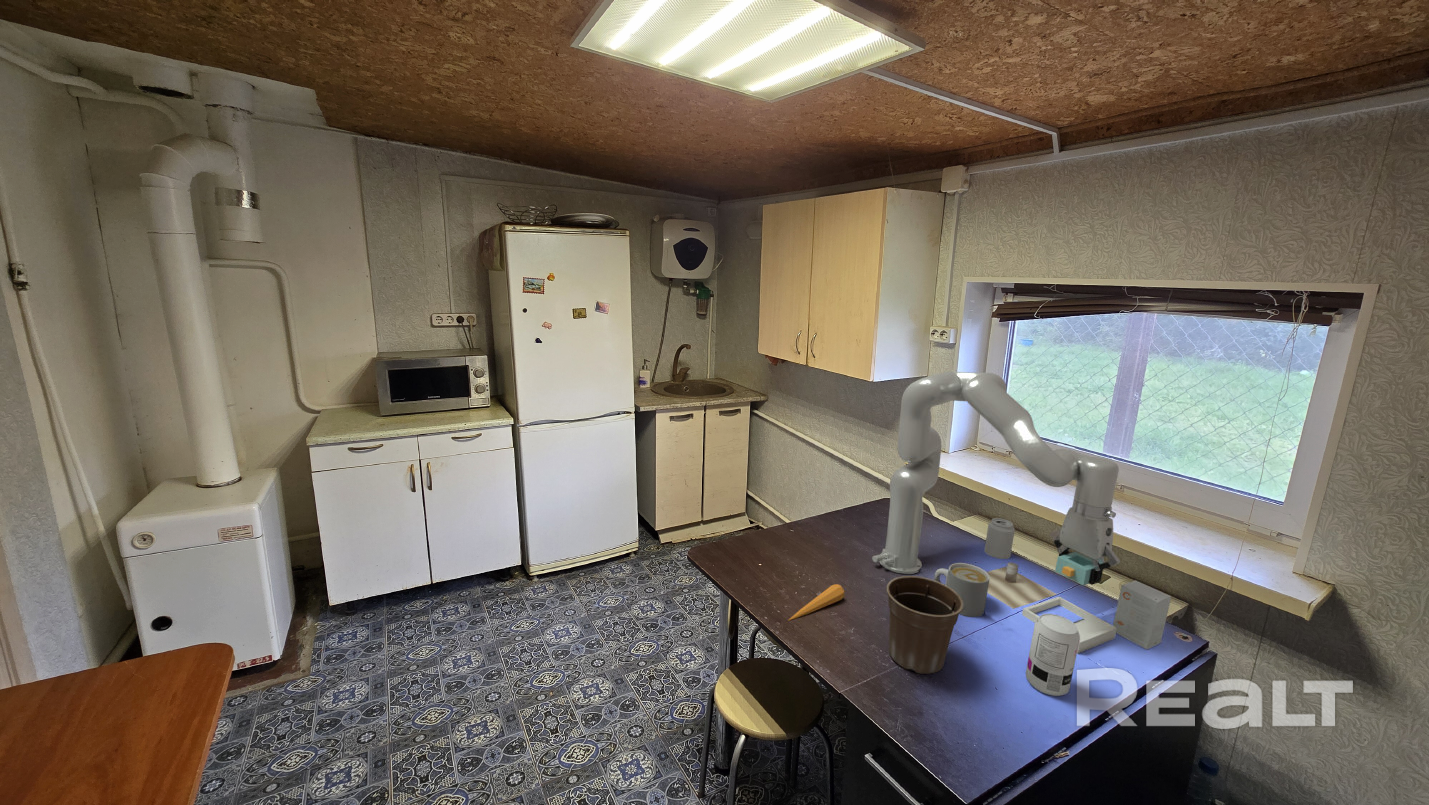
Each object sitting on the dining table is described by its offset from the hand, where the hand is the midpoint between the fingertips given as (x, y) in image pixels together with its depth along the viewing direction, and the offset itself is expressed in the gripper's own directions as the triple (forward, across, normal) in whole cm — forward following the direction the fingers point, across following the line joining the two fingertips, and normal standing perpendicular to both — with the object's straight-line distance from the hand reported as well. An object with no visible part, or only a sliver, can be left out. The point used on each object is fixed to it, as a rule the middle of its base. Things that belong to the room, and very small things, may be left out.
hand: (1077, 574), depth 135 cm
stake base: (+15, +18, -2) cm, 24 cm away
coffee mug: (+15, +19, +17) cm, 30 cm away
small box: (+15, -9, -13) cm, 22 cm away
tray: (+15, 0, 0) cm, 15 cm away
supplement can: (+15, -11, +24) cm, 31 cm away
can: (+15, +33, -16) cm, 40 cm away
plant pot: (+15, +7, +44) cm, 47 cm away
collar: (0, 0, 0) cm, 0 cm away
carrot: (+16, +32, +55) cm, 66 cm away
